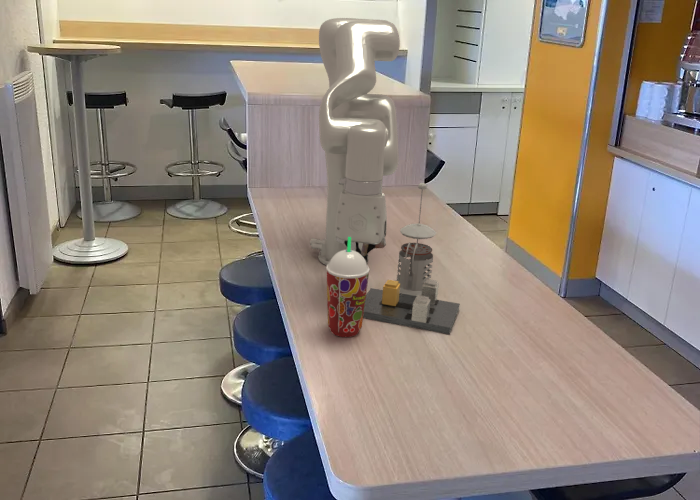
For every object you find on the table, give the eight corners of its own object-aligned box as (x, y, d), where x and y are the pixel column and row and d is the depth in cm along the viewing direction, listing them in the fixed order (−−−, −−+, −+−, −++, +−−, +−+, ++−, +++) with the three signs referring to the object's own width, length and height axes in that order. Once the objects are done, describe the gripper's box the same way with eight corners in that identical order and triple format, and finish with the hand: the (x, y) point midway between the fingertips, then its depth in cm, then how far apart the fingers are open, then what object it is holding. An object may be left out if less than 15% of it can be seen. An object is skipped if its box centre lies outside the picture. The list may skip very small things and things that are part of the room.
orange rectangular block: (381, 303, 144) (383, 284, 142) (385, 298, 146) (386, 278, 145) (395, 306, 143) (397, 286, 141) (398, 300, 146) (400, 281, 144)
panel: (354, 316, 142) (356, 289, 139) (370, 294, 152) (372, 269, 150) (449, 334, 136) (452, 307, 134) (458, 309, 147) (462, 284, 145)
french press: (438, 282, 160) (449, 180, 151) (427, 302, 150) (438, 193, 141) (398, 275, 163) (406, 174, 154) (384, 294, 153) (392, 187, 144)
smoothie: (361, 343, 131) (367, 247, 124) (319, 337, 132) (322, 242, 125) (368, 324, 138) (374, 232, 131) (329, 319, 140) (333, 227, 133)
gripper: (322, 186, 136) (319, 271, 142) (394, 195, 132) (388, 282, 138) (334, 178, 143) (331, 260, 149) (403, 186, 139) (397, 270, 145)
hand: (359, 270), depth 144 cm, fingers closed
